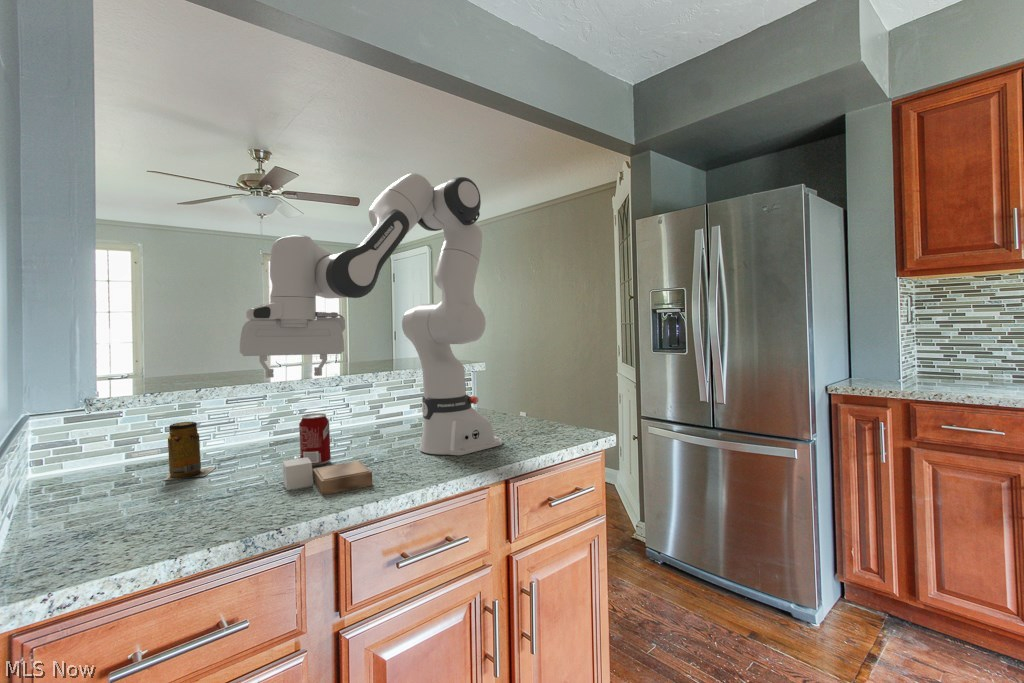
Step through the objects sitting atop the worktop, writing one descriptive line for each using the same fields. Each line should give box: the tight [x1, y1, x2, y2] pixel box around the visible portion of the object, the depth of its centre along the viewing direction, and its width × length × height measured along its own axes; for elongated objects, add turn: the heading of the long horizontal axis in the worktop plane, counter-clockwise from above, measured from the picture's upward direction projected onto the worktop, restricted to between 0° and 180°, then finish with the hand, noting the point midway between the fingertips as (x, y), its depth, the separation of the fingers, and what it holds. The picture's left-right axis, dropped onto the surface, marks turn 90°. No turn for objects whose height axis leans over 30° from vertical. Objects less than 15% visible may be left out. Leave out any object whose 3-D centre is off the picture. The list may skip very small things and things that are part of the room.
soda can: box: [298, 412, 331, 468], centre depth 117 cm, size 7×7×12 cm
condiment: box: [162, 421, 216, 481], centre depth 111 cm, size 7×8×12 cm
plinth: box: [312, 460, 373, 496], centre depth 102 cm, size 10×10×3 cm
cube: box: [282, 457, 314, 491], centre depth 102 cm, size 5×5×5 cm
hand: (294, 376), depth 102 cm, fingers open, 8 cm apart
